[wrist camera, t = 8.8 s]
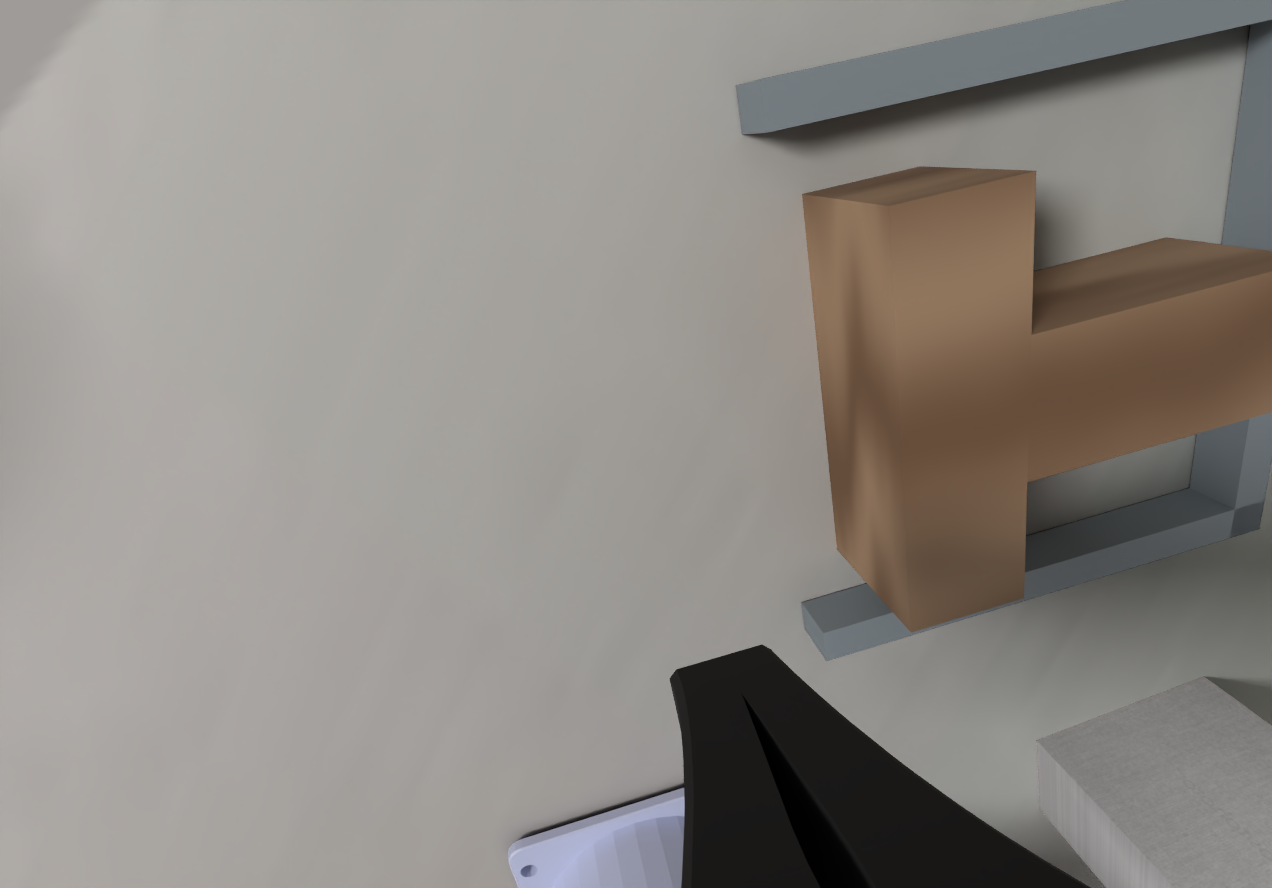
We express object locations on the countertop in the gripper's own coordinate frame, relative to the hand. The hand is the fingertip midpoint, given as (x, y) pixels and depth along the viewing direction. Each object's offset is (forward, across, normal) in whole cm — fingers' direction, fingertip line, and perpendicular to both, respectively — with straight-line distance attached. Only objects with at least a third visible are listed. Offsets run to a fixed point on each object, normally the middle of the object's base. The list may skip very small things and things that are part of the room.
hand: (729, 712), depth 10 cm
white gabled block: (+10, -16, +17) cm, 25 cm away
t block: (+9, -11, 0) cm, 14 cm away
